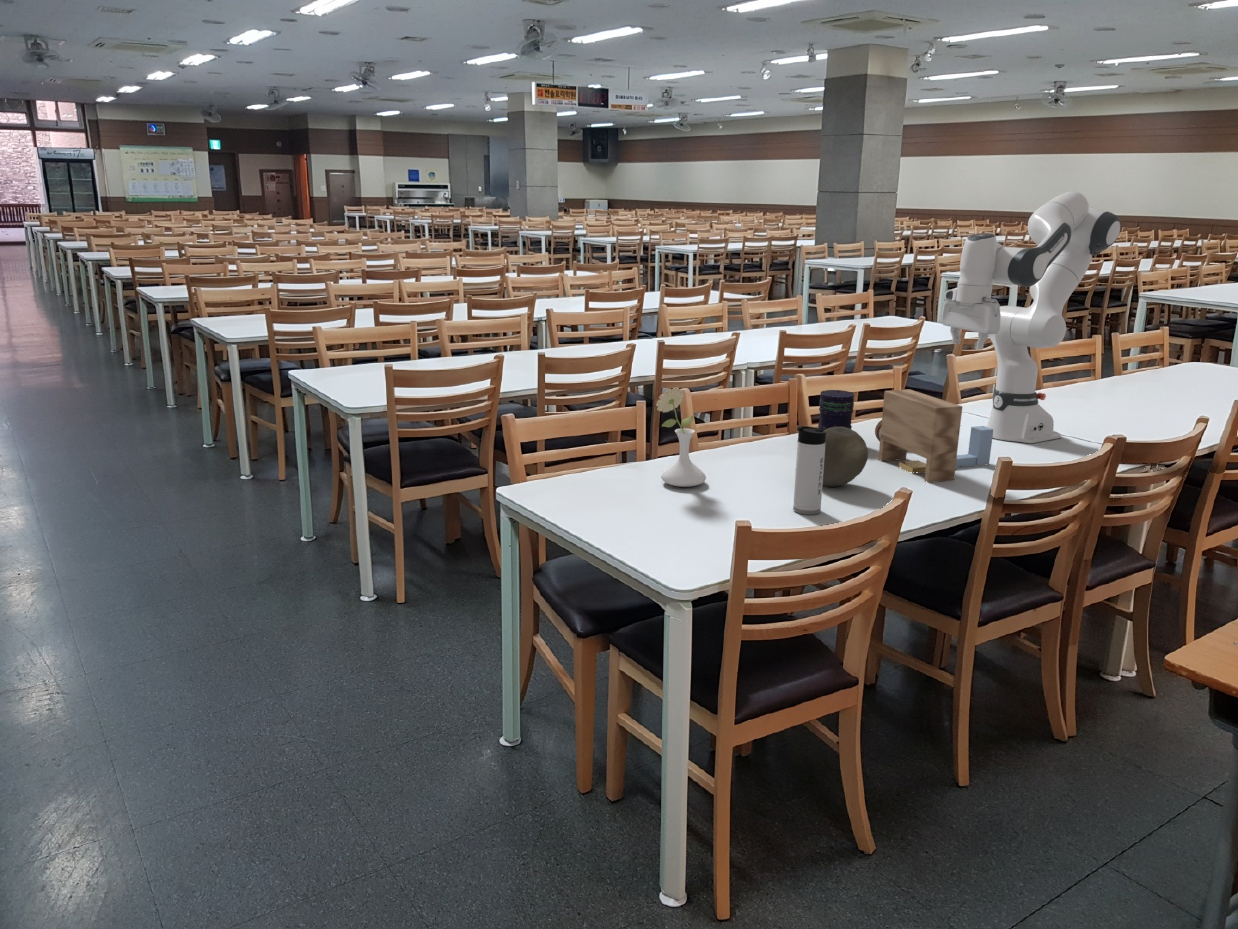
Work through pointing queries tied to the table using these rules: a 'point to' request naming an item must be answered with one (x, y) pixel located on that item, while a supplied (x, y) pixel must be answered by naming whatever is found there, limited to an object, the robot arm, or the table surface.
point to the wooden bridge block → (921, 431)
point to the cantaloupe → (843, 456)
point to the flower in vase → (683, 468)
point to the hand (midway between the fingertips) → (967, 346)
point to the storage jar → (835, 409)
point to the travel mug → (809, 470)
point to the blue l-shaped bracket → (977, 447)
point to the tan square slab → (913, 466)
